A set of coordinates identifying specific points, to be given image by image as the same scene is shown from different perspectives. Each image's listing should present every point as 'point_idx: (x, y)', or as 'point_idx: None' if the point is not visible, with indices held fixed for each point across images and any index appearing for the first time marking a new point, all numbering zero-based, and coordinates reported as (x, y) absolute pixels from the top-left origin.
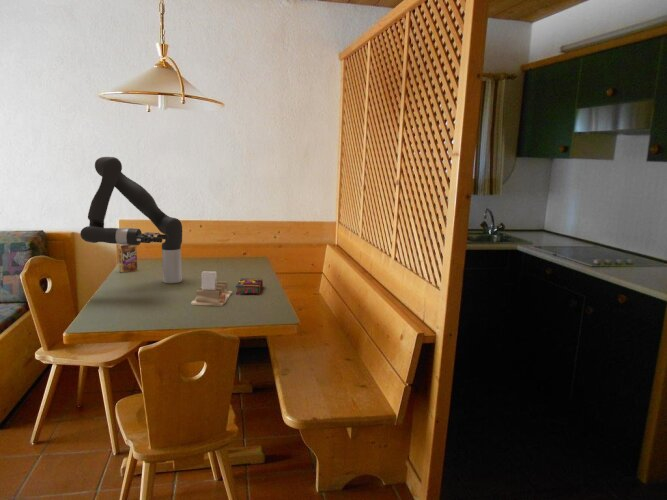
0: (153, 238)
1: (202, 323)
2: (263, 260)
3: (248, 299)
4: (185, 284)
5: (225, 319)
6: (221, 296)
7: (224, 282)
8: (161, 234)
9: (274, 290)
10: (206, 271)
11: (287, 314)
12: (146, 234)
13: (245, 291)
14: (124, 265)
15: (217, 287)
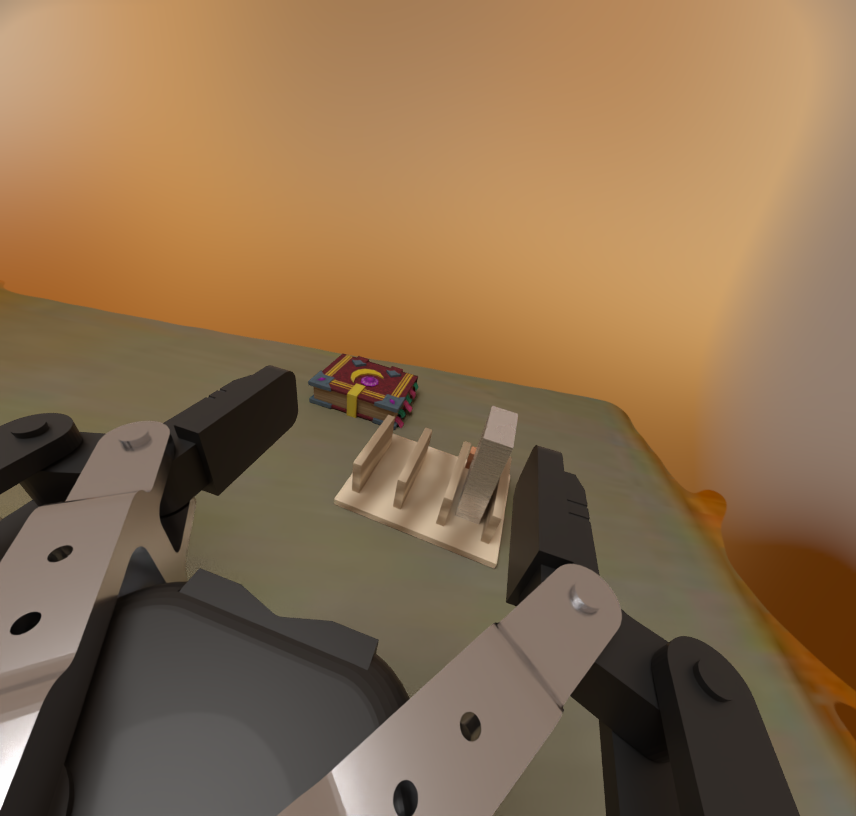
0: (596, 573)
1: (685, 558)
2: (39, 299)
3: (452, 419)
4: None
5: (629, 496)
6: None
7: (391, 422)
8: (222, 412)
9: (387, 366)
10: (490, 429)
11: (565, 396)
12: (350, 797)
13: (407, 407)
14: None
15: (423, 450)
